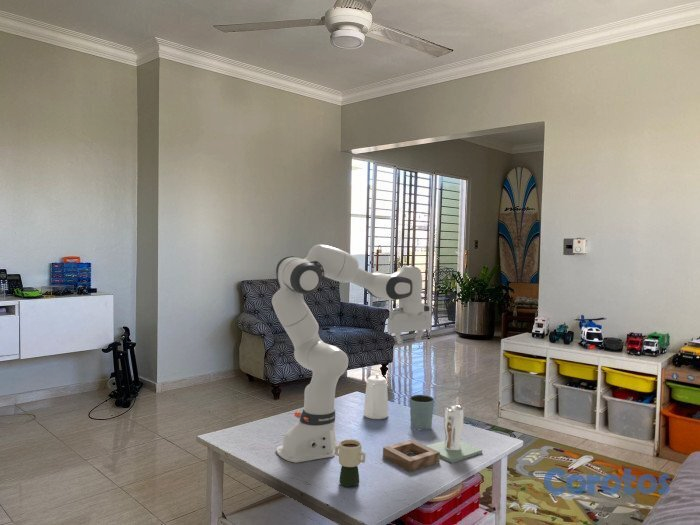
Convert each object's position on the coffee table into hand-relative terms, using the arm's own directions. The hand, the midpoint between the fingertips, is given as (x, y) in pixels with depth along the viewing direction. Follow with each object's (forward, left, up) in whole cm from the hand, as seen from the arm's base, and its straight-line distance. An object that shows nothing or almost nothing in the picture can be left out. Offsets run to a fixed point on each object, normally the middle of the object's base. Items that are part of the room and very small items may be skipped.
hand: (408, 342), depth 205 cm
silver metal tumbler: (+4, -21, -36) cm, 42 cm away
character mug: (-43, -21, -37) cm, 61 cm away
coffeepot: (+4, +24, -37) cm, 45 cm away
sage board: (+4, -21, -37) cm, 43 cm away
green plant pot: (+12, +4, -37) cm, 39 cm away
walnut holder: (-14, -18, -37) cm, 44 cm away
